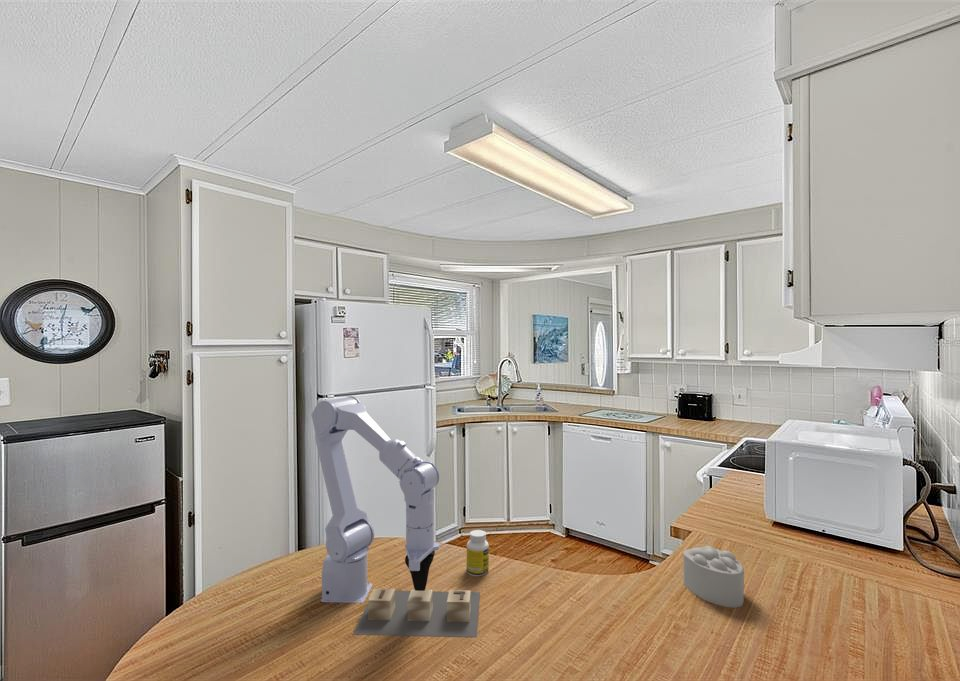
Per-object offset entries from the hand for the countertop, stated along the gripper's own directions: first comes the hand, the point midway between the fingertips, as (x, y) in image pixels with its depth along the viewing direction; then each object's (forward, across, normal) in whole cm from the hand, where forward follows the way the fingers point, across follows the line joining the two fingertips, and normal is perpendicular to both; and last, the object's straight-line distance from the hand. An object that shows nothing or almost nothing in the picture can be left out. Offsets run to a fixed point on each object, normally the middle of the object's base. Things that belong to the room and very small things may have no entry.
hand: (420, 588), depth 99 cm
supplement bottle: (+6, +19, -11) cm, 23 cm away
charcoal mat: (+6, +1, 0) cm, 6 cm away
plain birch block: (+5, 0, 0) cm, 5 cm away
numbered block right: (+5, 0, -8) cm, 10 cm away
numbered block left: (+5, 0, +8) cm, 10 cm away
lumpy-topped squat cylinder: (+6, +12, -65) cm, 67 cm away
